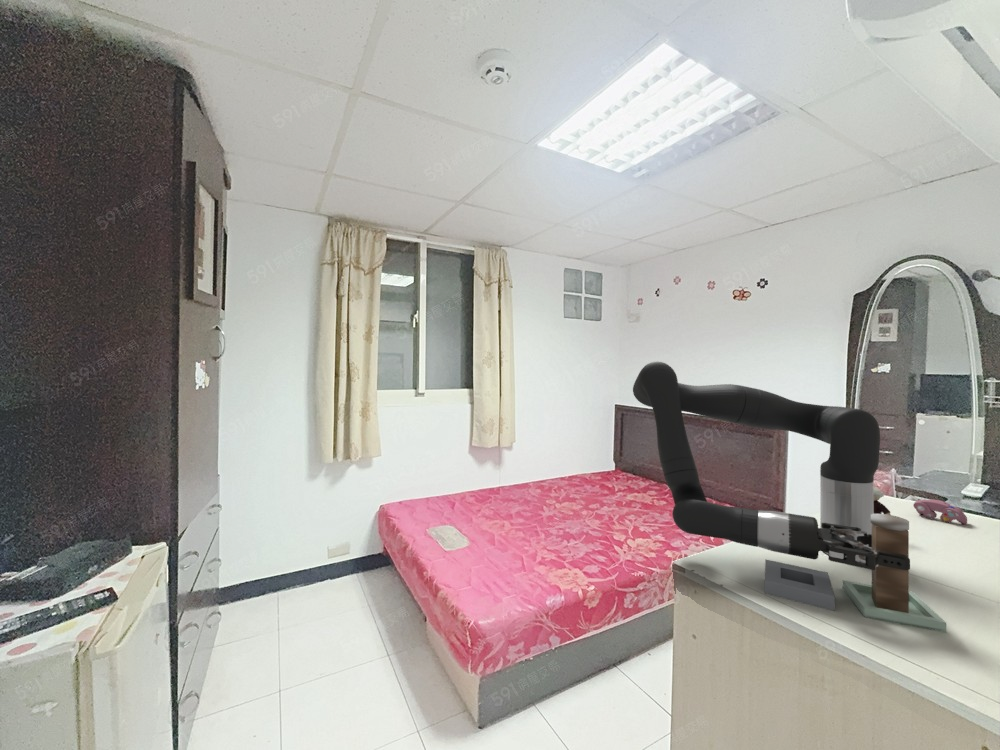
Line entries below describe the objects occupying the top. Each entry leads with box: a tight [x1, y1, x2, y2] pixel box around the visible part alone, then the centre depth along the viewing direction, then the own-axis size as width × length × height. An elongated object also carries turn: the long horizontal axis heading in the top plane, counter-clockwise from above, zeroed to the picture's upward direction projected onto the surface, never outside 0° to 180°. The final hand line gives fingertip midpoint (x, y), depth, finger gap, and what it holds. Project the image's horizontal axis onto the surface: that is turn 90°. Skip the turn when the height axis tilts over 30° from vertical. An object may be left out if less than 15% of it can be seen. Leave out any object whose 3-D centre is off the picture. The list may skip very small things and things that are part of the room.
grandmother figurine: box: [873, 485, 892, 515], centre depth 102 cm, size 8×4×13 cm, turn 21°
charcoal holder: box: [764, 558, 836, 612], centre depth 76 cm, size 10×10×3 cm
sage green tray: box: [842, 579, 947, 633], centre depth 70 cm, size 10×10×2 cm
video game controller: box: [913, 497, 968, 525], centre depth 114 cm, size 10×5×7 cm, turn 26°
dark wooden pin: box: [871, 513, 910, 613], centre depth 70 cm, size 5×5×15 cm
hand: (902, 553), depth 69 cm, fingers open, 8 cm apart
